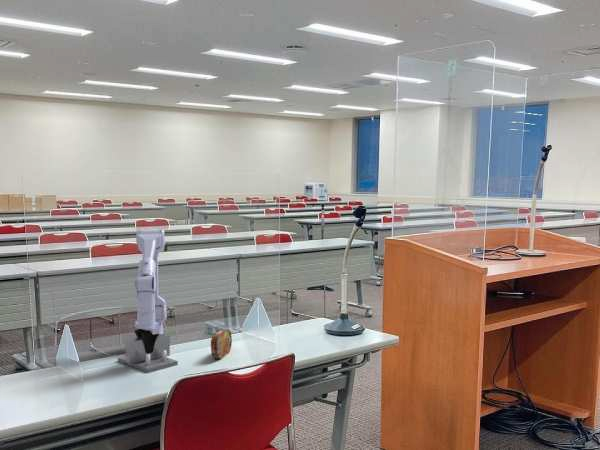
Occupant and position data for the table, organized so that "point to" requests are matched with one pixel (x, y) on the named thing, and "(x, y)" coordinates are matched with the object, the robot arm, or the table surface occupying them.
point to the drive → (138, 352)
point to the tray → (151, 363)
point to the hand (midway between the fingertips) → (147, 351)
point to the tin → (221, 344)
